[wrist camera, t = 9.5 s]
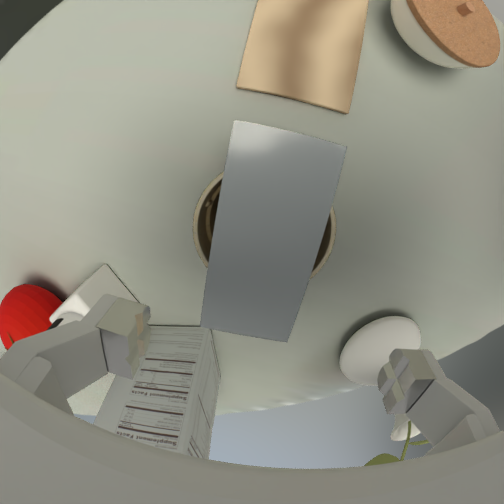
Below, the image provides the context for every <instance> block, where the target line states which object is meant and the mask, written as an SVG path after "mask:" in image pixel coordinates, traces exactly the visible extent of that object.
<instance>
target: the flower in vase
mask: <svg viewBox="0 0 504 504" xmlns="http://www.w3.org/2000/svg"><path fill="white" fill-rule="evenodd" d="M420 345H421V334H420V329H419V327H418V325H417V324H416V323H415V322H414V321H413V320H411V319H409V318H406V317H400V316H388V317H383V318H380V319H377V320H374V321H372V322H370V323H368V324H367V325H365V326H363V327H362V328H361V329H359V330H358V331H357V332H356V333H355V334H354V335H353V336H352V337H351V338H350V339H349V340H348V342H347V343H346V345H345V346H344V348H343V350H342V352H341V355H340V360H339V365H340V369H341V371H342V373H343V374H344V375H345V376H346V377H347V378H348V379H349V380H351V381H352V382H354V383H358V384H362V385H368V386H372V385H378V383H377V379H378V374H379V371H380V370H381V368H382V366H383V365H385V364H386V363H388V362H389V355H390V354H391V352H392V351H393V350H394V349H396V348H398V349H415V350H417V349H420ZM419 433H421V432H420V431H419V430H418V428H417V427H416V426H415V425H414V424H413V423H412V421H411V420H410V419H409V418H408V417H407V416H406V414H395V425H394V429H393V431H392V434H391V439H392V440H394V441H401V440H406V443H405V446H404V450H403V453H402V456H401V460H399V459H398V458H397V457H395V456H392V455H390V454H380V455H378V456H376V457H375V458H373V459H372V460H370V461H369V462H368V463H367V464H366V465H364V466H370V465H379V464H386V463H392V462H398V461H403V460H404V456H405V453H406V450H407V447H408V444H412V445H420V444H425V443H429V441H428V440H424V441H418V442H411V443H409V439H410V438H411V437H413V436H416V435H418V434H419Z"/></svg>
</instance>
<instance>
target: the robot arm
mask: <svg viewBox="0 0 504 504" xmlns="http://www.w3.org/2000/svg"><path fill="white" fill-rule="evenodd" d="M149 319H150V307H149V306H147V305H144V304H140V303H137V302H134V301H130V300H127V299H124V298H120V297H117V296H114V295H110V294H104V295H103V296H102V297H101V298H100V299H99V300H98V301H97V303H96V304H95V305H94V306H93V307H92V308H91V309H90V311H89V312H88V313H87V314H86V315H85V316H84V318H83V319H82V320H81V321H77V320H75V321H73V322H70V323H67V324H64V325H61V326H58V327H56V328H53V329H50V330H47V331H44V332H41V333H38V334H35V335H33V336H30V337H27V338H24V339H21V340H18V341H15V343H14V344H13V345H12V346H11V347H10V348H9V349H8V350H7V352H6V353H5V354H4V355H3V356H2V357H1V359H0V504H504V430H503V431H501V432H500V430H499V428H498V426H497V424H496V422H495V420H494V418H493V416H492V414H491V412H490V410H489V409H488V408H487V407H485V406H484V405H483V404H482V403H480V402H479V401H477V400H476V399H475V398H474V397H473V396H471V395H470V394H469V393H467V392H466V391H465V390H464V389H462V388H461V387H460V386H458V385H457V384H456V383H454V382H453V381H452V380H451V379H447V378H446V376H445V374H444V373H443V371H442V369H441V367H440V366H439V364H438V362H437V360H436V359H435V357H434V355H433V354H432V352H431V351H430V350H428V349H417V350H415V349H398V348H396V349H394V350H393V351H392V352H391V354H390V355H389V362H388V363H386V364H385V365H383V366H382V368H381V370H380V371H379V374H378V379H377V383H378V388H379V391H380V392H382V393H383V394H384V398H383V403H384V406H385V409H386V411H387V414H406V416H407V417H408V418H409V419H410V420H411V421H412V423H413V424H414V425H415V426H416V427H417V428H418V430H419V431H420V432H421V433H422V434H423V435H424V436H425V438H426V439H427V440H428V441H429V442H430V443H431V445H432V446H433V448H432V449H431V450H429V451H428V452H427V453H426V455H425V456H424V457H419V458H415V459H410V460H404V461H398V462H392V463H386V464H379V465H370V466H362V467H349V468H332V469H289V468H271V467H258V466H248V465H240V464H233V463H226V462H220V461H214V460H209V459H203V458H198V457H194V456H189V455H185V454H180V453H176V452H172V451H169V450H165V449H161V448H158V447H154V446H151V445H148V444H144V443H141V442H138V441H135V440H132V439H129V438H126V437H124V436H121V435H118V434H115V433H113V432H110V431H108V430H105V429H103V428H100V427H98V426H95V425H93V424H90V423H88V422H86V421H84V420H82V419H80V418H77V417H75V416H74V414H73V411H72V409H71V407H70V405H69V403H68V401H67V398H69V397H71V396H72V395H74V394H75V393H77V392H79V391H80V390H82V389H84V388H85V387H87V386H88V385H90V384H92V383H93V382H95V381H97V380H98V379H100V378H101V377H103V376H105V375H106V374H108V372H110V373H113V374H116V375H119V376H122V377H125V378H128V379H132V380H133V378H134V376H135V374H136V372H137V370H138V368H139V366H140V361H139V358H140V357H142V356H144V355H145V353H146V351H147V349H148V345H149V342H150V335H151V328H150V326H149V325H148V323H147V322H148V320H149Z"/></svg>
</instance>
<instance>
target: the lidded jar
mask: <svg viewBox="0 0 504 504" xmlns="http://www.w3.org/2000/svg"><path fill="white" fill-rule="evenodd" d="M391 16H392V19H393V22H394V25H395V27H396V29H397V31H398V33H399V34H400V36H401V37H402V39H403V40H404V41H405V42H406V44H407V45H408V46H409V47H410V48H411V49H412V50H413V51H415V52H416V53H417V54H418V55H420V56H421V57H423V58H424V59H426V60H428V61H430V62H432V63H434V64H437V65H440V66H443V67H448V68H463V69H466V68H473V67H476V68H481V67H487V66H490V65H492V64H493V63H494V62H495V61H496V60H497V57H498V55H499V51H500V39H499V34H498V30H497V27H496V24H495V21H494V19H493V17H492V15H491V13H490V11H489V10H488V8H487V7H486V5H485V4H484V2H483V1H482V0H391Z"/></svg>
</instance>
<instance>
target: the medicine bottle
mask: <svg viewBox="0 0 504 504" xmlns="http://www.w3.org/2000/svg"><path fill="white" fill-rule="evenodd" d="M104 294H110V295H114V296H117V297H120V298H124V299H127V300H130V301H134V302H137V303H139V302H138V301H137V300H136V299H135V298H134V297H133V295H132V294H131V293H130V292H129V291H128V290H127V288H126V287H125V286H124V285H123V284H122V282H121V281H120V280H119V279H118V278H117V276H116V275H115V274H114V273H113V272H112V270H111V269H110V268H109V267H108V265H107V264H104V265H103V266H101V267H100V268H99V269H98V270H97V271H96V272H95V273H94V274H92V275H91V276H90V277H89V278H88V279H87V280H86V281H85V282H84V283H82V284H81V285H80V286H79V287H78V288H77V289H76V290H75V291H74V292H73V293H72V294H71V295H70V296H69V297H68V298H67V299H66V300H65V301H64V302H63V303H62V304H61V305H60V307H59V308H58V309H57V310H56V311H55V312H54V313H53V314H52V315H51V316H50V318H49V319H50V322H51V323H52V325H51V326H50V327H49V328H48V329H47V330H50V329H53V328H56V327H58V326H61V325H64V324H67V323H70V322H73V321H75V320H77V321H81V320H82V319H83V318H84V316H85V315H86V314H87V313H88V312H89V311H90V309H91V308H92V307H93V306H94V305H95V304H96V303H97V301H98V300H99V299H100V298H101V297H102V296H103V295H104ZM47 330H46V331H47Z"/></svg>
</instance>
